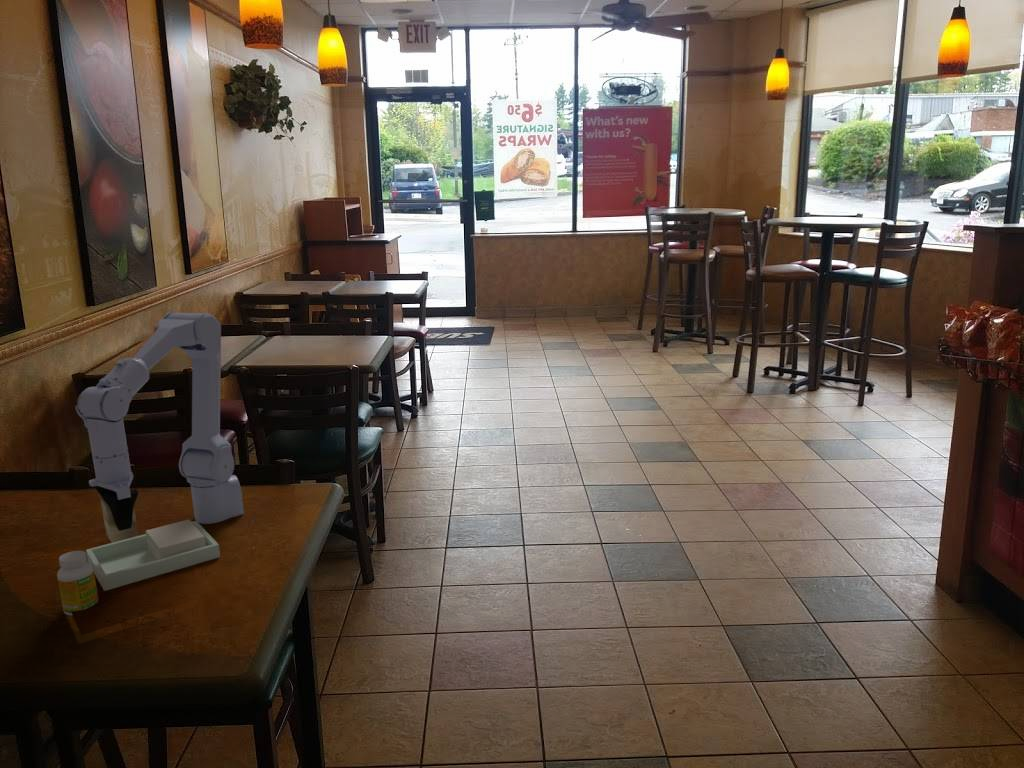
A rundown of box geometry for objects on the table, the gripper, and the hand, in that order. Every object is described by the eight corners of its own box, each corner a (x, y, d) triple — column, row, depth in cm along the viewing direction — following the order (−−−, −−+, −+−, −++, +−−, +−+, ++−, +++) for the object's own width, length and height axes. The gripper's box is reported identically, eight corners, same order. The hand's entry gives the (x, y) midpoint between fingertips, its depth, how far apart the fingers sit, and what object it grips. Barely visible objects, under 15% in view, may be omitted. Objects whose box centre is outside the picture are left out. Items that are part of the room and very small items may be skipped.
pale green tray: (198, 536, 164) (196, 520, 163) (220, 561, 153) (218, 544, 152) (88, 566, 152) (86, 549, 151) (104, 595, 141) (101, 577, 141)
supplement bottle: (84, 618, 134) (75, 564, 132) (56, 615, 136) (46, 562, 133) (106, 601, 140) (97, 549, 137) (79, 599, 141) (69, 547, 138)
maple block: (132, 527, 151) (127, 492, 149) (138, 535, 148) (133, 499, 146) (106, 534, 149) (100, 498, 147) (111, 542, 145) (105, 506, 143)
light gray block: (191, 538, 161) (188, 519, 160) (207, 555, 153) (204, 536, 152) (148, 549, 156) (145, 530, 155) (162, 568, 149) (159, 548, 148)
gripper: (77, 447, 148) (89, 517, 151) (93, 469, 136) (106, 544, 140) (119, 439, 152) (130, 507, 155) (138, 459, 140) (149, 532, 144)
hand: (121, 524), depth 148 cm, fingers closed on maple block, 4 cm apart
